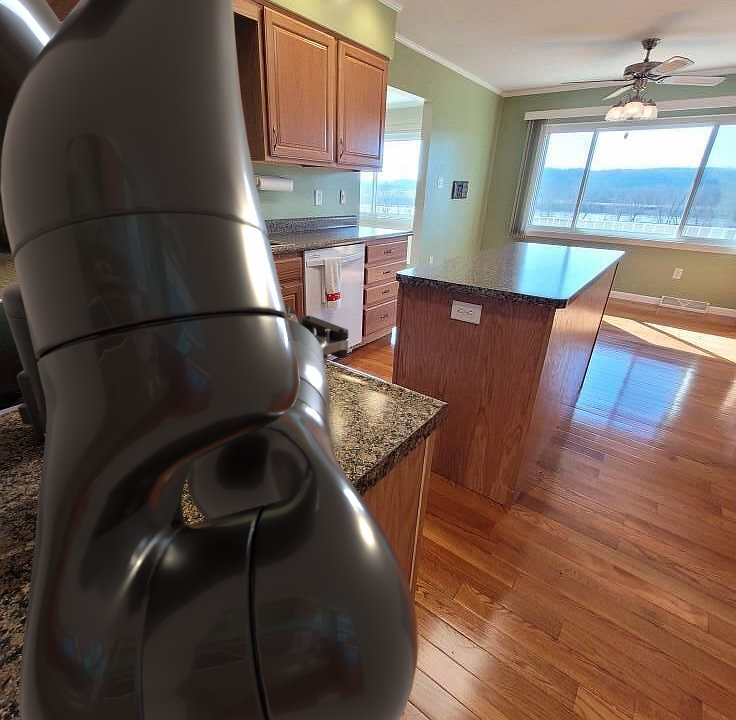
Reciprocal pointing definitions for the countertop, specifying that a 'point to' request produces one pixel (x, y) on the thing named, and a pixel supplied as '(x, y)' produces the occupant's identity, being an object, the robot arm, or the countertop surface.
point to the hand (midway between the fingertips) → (281, 314)
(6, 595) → the countertop surface
